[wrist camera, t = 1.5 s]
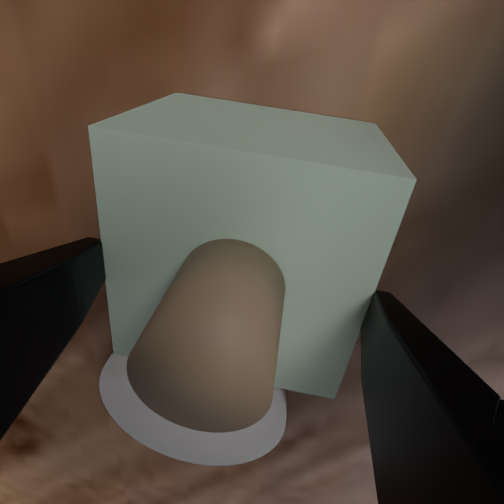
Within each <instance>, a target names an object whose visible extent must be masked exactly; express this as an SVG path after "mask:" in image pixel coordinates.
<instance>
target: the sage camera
mask: <svg viewBox="0 0 504 504" xmlns="http://www.w3.org/2000/svg"><path fill="white" fill-rule="evenodd" d="M88 129H89V138H90V147H91V156H92V165H93V174H94V183H95V192H96V201H97V210H98V219H99V227H100V236H101V242H102V247H103V256H104V265H105V274H106V280H105V281H106V290H107V299H108V308H109V317H110V326H111V335H112V344H113V353H114V354H117V355H122V356H127V357H128V360H127V376H128V380H129V383H130V385H131V387H132V389H133V391H134V392H135V393H136V395H137V396H138V398H139V399H140V400H141V401H142V402H143V403H144V404H145V405H146V406H147V407H148V408H149V409H151V410H152V411H153V412H155V413H156V414H158V415H159V416H161V417H162V418H164V419H166V420H168V421H170V422H172V423H175V424H177V425H179V426H182V427H185V428H189V429H192V430H197V431H202V432H211V433H224V432H233V431H238V430H241V429H245V428H247V427H250V426H252V425H253V424H255V423H257V422H258V421H259V420H261V419H262V418H263V417H264V416H265V415H266V413H267V412H268V410H269V409H270V406H271V404H272V399H273V391H274V387H277V388H281V389H286V390H291V391H296V392H301V393H306V394H310V395H315V396H320V397H325V398H330V399H335V397H336V394H337V392H338V389H339V386H340V384H341V381H342V378H343V376H344V373H345V370H346V368H347V365H348V362H349V360H350V357H351V354H352V352H353V349H354V346H355V344H356V341H357V338H358V336H359V333H360V330H361V325H362V323H363V320H364V317H365V315H366V312H367V309H368V306H369V304H370V301H371V298H372V296H373V293H374V292H375V290H376V288H377V285H378V282H379V280H380V277H381V274H382V272H383V269H384V266H385V263H386V261H387V258H388V255H389V253H390V250H391V247H392V245H393V242H394V239H395V237H396V234H397V231H398V229H399V226H400V223H401V221H402V218H403V215H404V213H405V210H406V207H407V205H408V202H409V199H410V197H411V194H412V191H413V189H414V186H415V183H416V181H417V179H416V178H415V176H414V175H413V174H412V172H411V171H410V170H409V168H408V167H407V165H406V164H405V163H404V161H403V160H402V159H401V157H400V156H399V155H398V153H397V152H396V151H395V149H394V148H393V146H392V145H391V144H390V142H389V141H388V140H387V138H386V137H385V136H384V134H383V133H382V132H381V130H380V129H379V127H378V126H377V125H376V123H370V122H363V121H357V120H350V119H344V118H337V117H331V116H324V115H318V114H312V113H305V112H299V111H292V110H286V109H279V108H273V107H266V106H260V105H253V104H247V103H241V102H234V101H228V100H221V99H215V98H208V97H202V96H195V95H189V94H182V93H174V94H172V95H169V96H166V97H164V98H161V99H158V100H156V101H153V102H150V103H148V104H145V105H142V106H140V107H137V108H134V109H132V110H129V111H126V112H124V113H121V114H118V115H115V116H113V117H110V118H107V119H105V120H102V121H99V122H97V123H94V124H91V125H89V126H88Z"/></svg>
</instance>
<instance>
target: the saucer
mask: <svg viewBox="0 0 504 504" xmlns="http://www.w3.org/2000/svg"><path fill="white" fill-rule="evenodd" d="M127 360H128V357H127V356H122V355H117V354H114V353H112V354H111V356H110V357H109V359H108V360H107V362H106V364H105V365H104V367H103V369H102V372H101V375H100V380H99V389H100V395H101V398H102V401H103V403H104V406H105V408H106V409H107V411H108V413H109V414H110V416H111V417H112V418H113V419H114V421H115V422H116V423H117V424H118V425H119V426H120V427H121V428H122V429H123V430H124V431H125V432H126V433H128V434H129V435H130V436H131V437H132V438H134V439H135V440H137V441H138V442H140V443H141V444H143V445H145V446H147V447H148V448H150V449H152V450H154V451H156V452H158V453H161V454H163V455H166V456H168V457H171V458H174V459H177V460H181V461H185V462H189V463H194V464H200V465H210V466H227V465H236V464H242V463H246V462H250V461H253V460H255V459H258V458H260V457H262V456H263V455H265V454H267V453H268V452H270V451H271V450H272V449H273V448H274V447H275V446H276V445H277V444H278V443H279V441H280V440H281V438H282V436H283V434H284V431H285V427H286V416H287V394H286V391H285V389H281V388H277V387H274V391H273V399H272V404H271V406H270V409H269V410H268V412H267V413H266V415H265V416H264V417H263V418H262V419H261V420H259V421H258V422H257V423H255V424H253V425H252V426H250V427H247V428H245V429H241V430H238V431H233V432H224V433H211V432H202V431H197V430H192V429H189V428H185V427H182V426H179V425H177V424H175V423H172V422H170V421H168V420H166V419H164V418H162V417H161V416H159V415H158V414H156V413H155V412H153V411H152V410H151V409H149V408H148V407H147V406H146V405H145V404H144V403H143V402H142V401H141V400H140V399H139V398H138V396H137V395H136V393H135V392H134V391H133V389H132V387H131V385H130V383H129V380H128V376H127Z"/></svg>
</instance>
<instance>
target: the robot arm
mask: <svg viewBox="0 0 504 504" xmlns="http://www.w3.org/2000/svg"><path fill="white" fill-rule="evenodd" d="M105 280H106V274H105V265H104V256H103V247H102V242H101V239H97V238H92V237H88V238H84V239H81V240H77V241H74V242H71V243H67V244H64V245H61V246H57V247H54V248H51V249H47V250H44V251H41V252H37V253H34V254H31V255H27V256H24V257H21V258H17V259H14V260H11V261H7V262H4V263H0V440H1V439H2V438H3V436H4V435H5V433H6V432H7V430H8V429H9V427H10V426H11V425H12V423H13V422H14V420H15V419H16V417H17V416H18V415H19V413H20V412H21V410H22V409H23V407H24V406H25V404H26V403H27V402H28V400H29V399H30V397H31V396H32V394H33V393H34V392H35V390H36V389H37V387H38V386H39V384H40V383H41V382H42V380H43V379H44V377H45V376H46V374H47V373H48V371H49V370H50V369H51V367H52V366H53V364H54V363H55V361H56V360H57V359H58V357H59V356H60V354H61V353H62V351H63V350H64V348H65V347H66V346H67V344H68V343H69V341H70V340H71V338H72V337H73V336H74V334H75V333H76V331H77V330H78V328H79V327H80V325H81V324H82V322H83V320H84V319H85V317H86V315H87V313H88V311H89V310H90V308H91V306H92V304H93V302H94V300H95V298H96V297H97V295H98V293H99V291H100V289H101V287H102V285H103V284H104V282H105ZM361 380H362V389H363V397H364V404H365V411H366V418H367V426H368V433H369V440H370V448H371V455H372V462H373V469H374V477H375V484H376V491H377V498H378V504H504V400H500V399H501V397H500V396H499V395H498V394H497V393H496V392H495V391H494V390H493V389H492V388H491V387H490V386H489V385H488V384H487V383H485V382H484V381H483V380H482V379H481V378H480V377H479V376H478V375H477V374H476V373H475V372H474V371H473V370H472V369H471V368H470V367H468V366H467V365H466V364H465V363H464V362H463V361H462V360H461V359H460V358H459V357H458V356H457V355H456V354H455V353H454V352H453V351H451V350H450V349H449V348H448V347H447V346H446V345H445V344H444V343H443V342H442V341H441V340H440V339H439V338H438V337H437V336H436V335H434V334H433V333H432V332H431V331H430V330H429V329H428V328H427V327H426V326H425V325H424V324H423V323H422V322H421V321H420V320H419V319H417V318H416V317H415V316H414V315H413V314H412V313H411V312H410V311H409V310H408V309H407V308H406V307H405V306H404V305H403V304H402V303H400V302H399V301H398V300H397V299H396V298H395V297H394V296H393V295H392V294H391V293H389V292H384V291H379V290H375V292H374V293H373V296H372V298H371V301H370V304H369V306H368V309H367V312H366V315H365V317H364V320H363V323H362V325H361Z"/></svg>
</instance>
